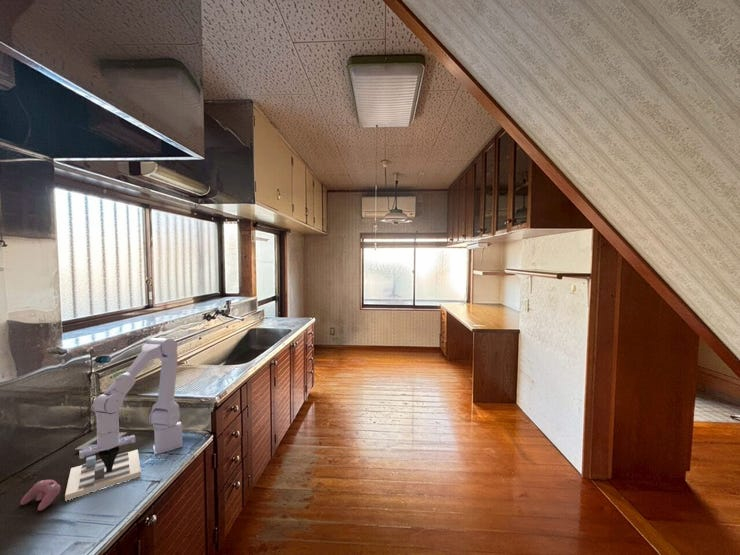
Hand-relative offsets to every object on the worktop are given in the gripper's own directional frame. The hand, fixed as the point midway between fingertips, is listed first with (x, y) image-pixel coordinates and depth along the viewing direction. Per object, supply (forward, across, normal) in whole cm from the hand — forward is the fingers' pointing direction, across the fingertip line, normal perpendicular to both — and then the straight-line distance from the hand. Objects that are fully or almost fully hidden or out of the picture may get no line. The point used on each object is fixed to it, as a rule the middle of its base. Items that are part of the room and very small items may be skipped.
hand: (109, 470), depth 110 cm
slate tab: (+1, +4, -11) cm, 11 cm away
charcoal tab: (+1, +2, 0) cm, 3 cm away
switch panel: (+4, 0, -5) cm, 6 cm away
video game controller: (+4, +16, -2) cm, 17 cm away
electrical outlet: (+4, -1, -33) cm, 33 cm away
